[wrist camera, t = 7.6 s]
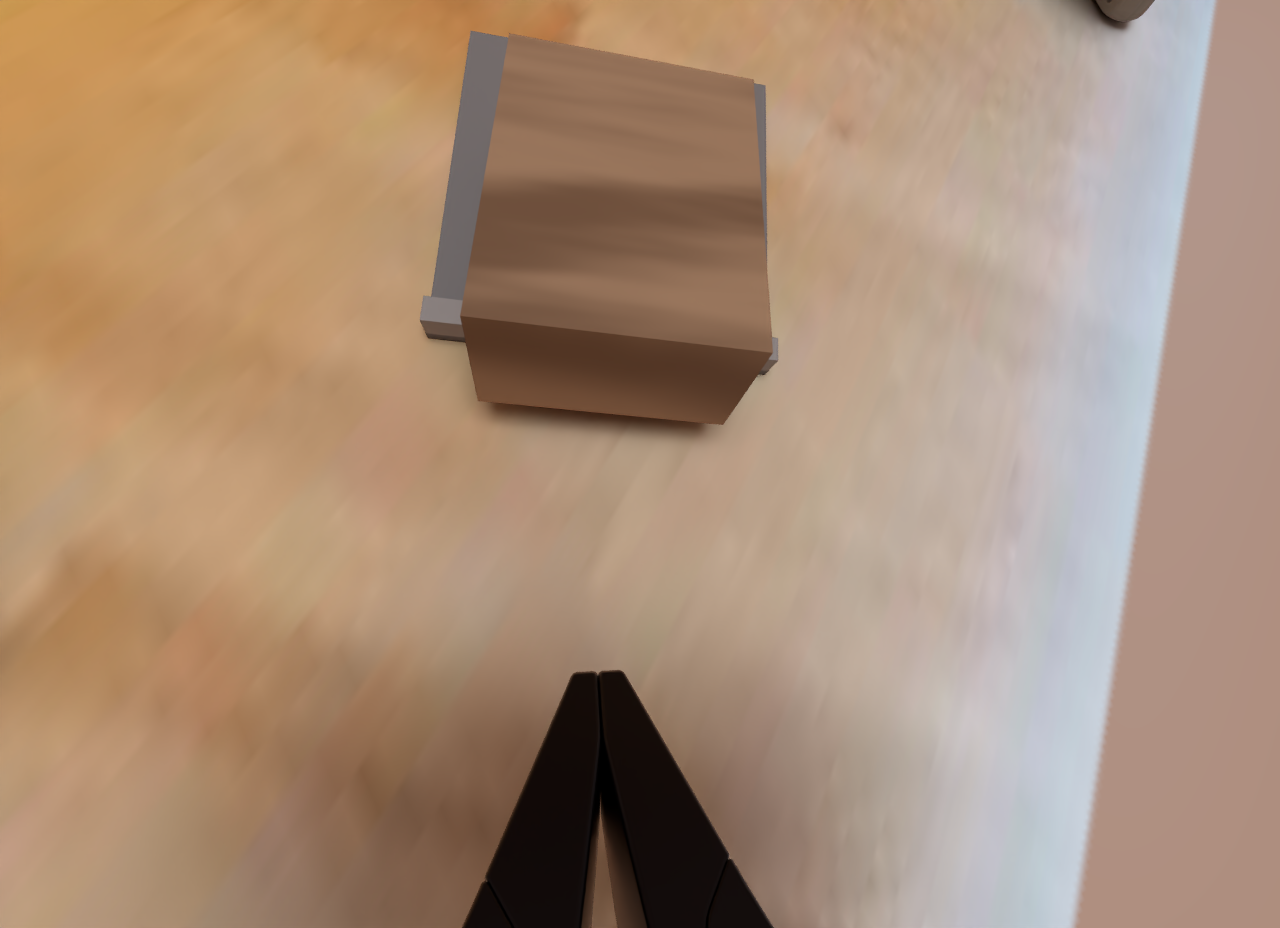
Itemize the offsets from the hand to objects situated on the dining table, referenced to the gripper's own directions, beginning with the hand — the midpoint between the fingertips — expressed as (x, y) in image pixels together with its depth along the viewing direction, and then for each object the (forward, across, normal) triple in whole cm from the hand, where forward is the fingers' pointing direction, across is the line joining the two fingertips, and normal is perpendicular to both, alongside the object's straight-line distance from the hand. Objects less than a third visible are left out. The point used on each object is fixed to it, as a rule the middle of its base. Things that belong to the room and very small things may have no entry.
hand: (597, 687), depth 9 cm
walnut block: (+11, -1, -1) cm, 11 cm away
